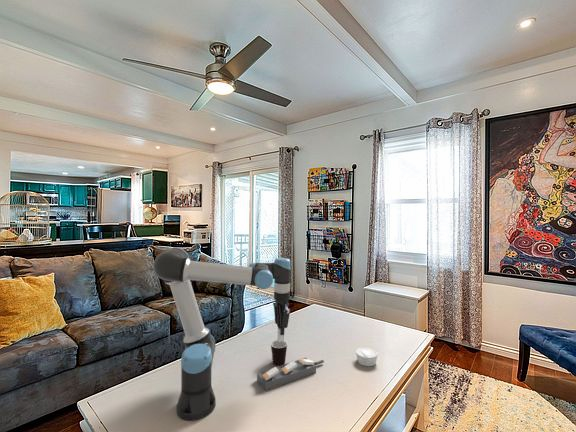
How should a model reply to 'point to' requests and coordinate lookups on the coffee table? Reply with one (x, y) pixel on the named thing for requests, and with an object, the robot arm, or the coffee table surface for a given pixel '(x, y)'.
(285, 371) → the rocker
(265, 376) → the block
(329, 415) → the coffee table surface
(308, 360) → the block
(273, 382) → the power strip
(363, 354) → the ramekin
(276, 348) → the coffee mug
